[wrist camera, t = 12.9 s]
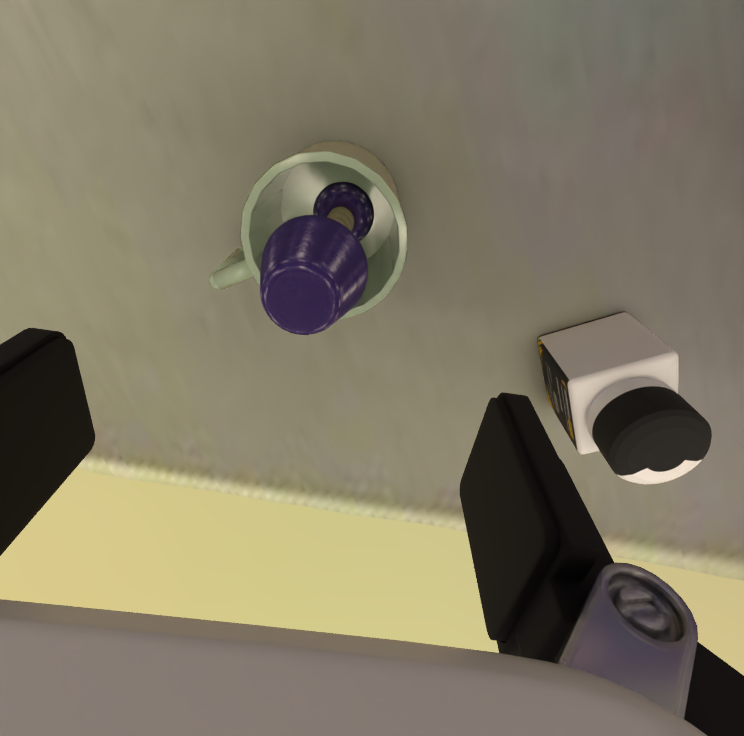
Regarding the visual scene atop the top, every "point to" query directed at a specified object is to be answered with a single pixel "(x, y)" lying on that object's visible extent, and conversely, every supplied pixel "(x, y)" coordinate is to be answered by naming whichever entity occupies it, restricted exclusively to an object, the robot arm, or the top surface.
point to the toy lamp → (318, 261)
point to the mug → (296, 198)
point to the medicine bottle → (623, 399)
